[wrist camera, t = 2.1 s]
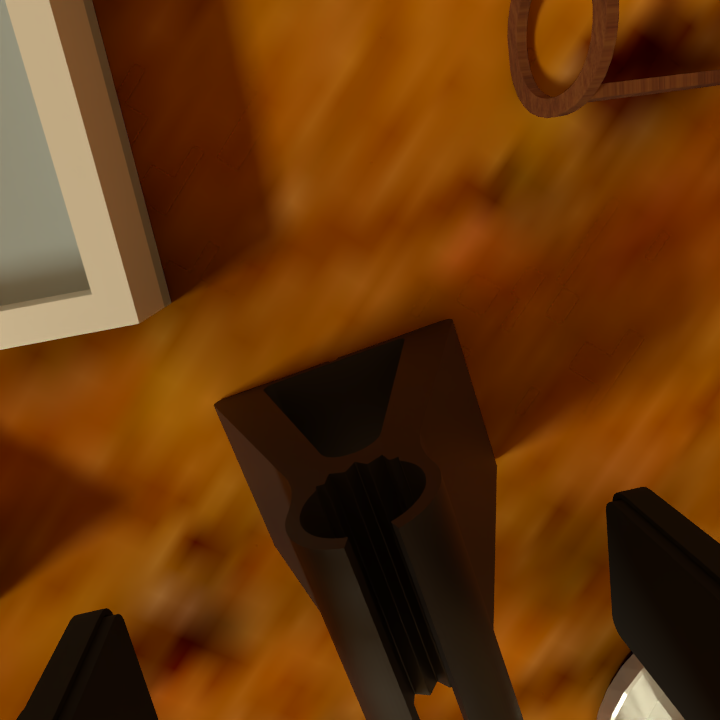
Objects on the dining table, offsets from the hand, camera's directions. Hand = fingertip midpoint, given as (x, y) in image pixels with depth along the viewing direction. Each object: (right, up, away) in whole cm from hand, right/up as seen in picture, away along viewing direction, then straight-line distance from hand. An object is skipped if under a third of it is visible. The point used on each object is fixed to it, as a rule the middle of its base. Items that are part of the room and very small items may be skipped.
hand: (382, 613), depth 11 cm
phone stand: (0, +2, +11) cm, 11 cm away
